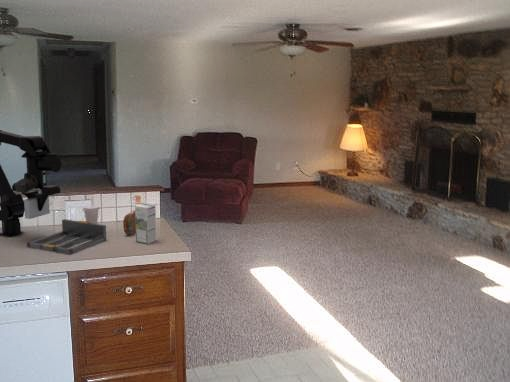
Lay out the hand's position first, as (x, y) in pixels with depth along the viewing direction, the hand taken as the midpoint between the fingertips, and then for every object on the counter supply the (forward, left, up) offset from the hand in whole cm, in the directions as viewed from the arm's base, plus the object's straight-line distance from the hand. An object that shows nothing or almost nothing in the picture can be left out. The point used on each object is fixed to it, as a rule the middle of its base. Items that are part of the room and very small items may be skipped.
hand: (37, 210), depth 208 cm
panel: (0, 0, -2) cm, 2 cm away
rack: (+14, 0, -11) cm, 18 cm away
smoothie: (+9, +20, -11) cm, 25 cm away
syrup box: (+38, +16, -11) cm, 43 cm away
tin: (+26, +25, -11) cm, 38 cm away
